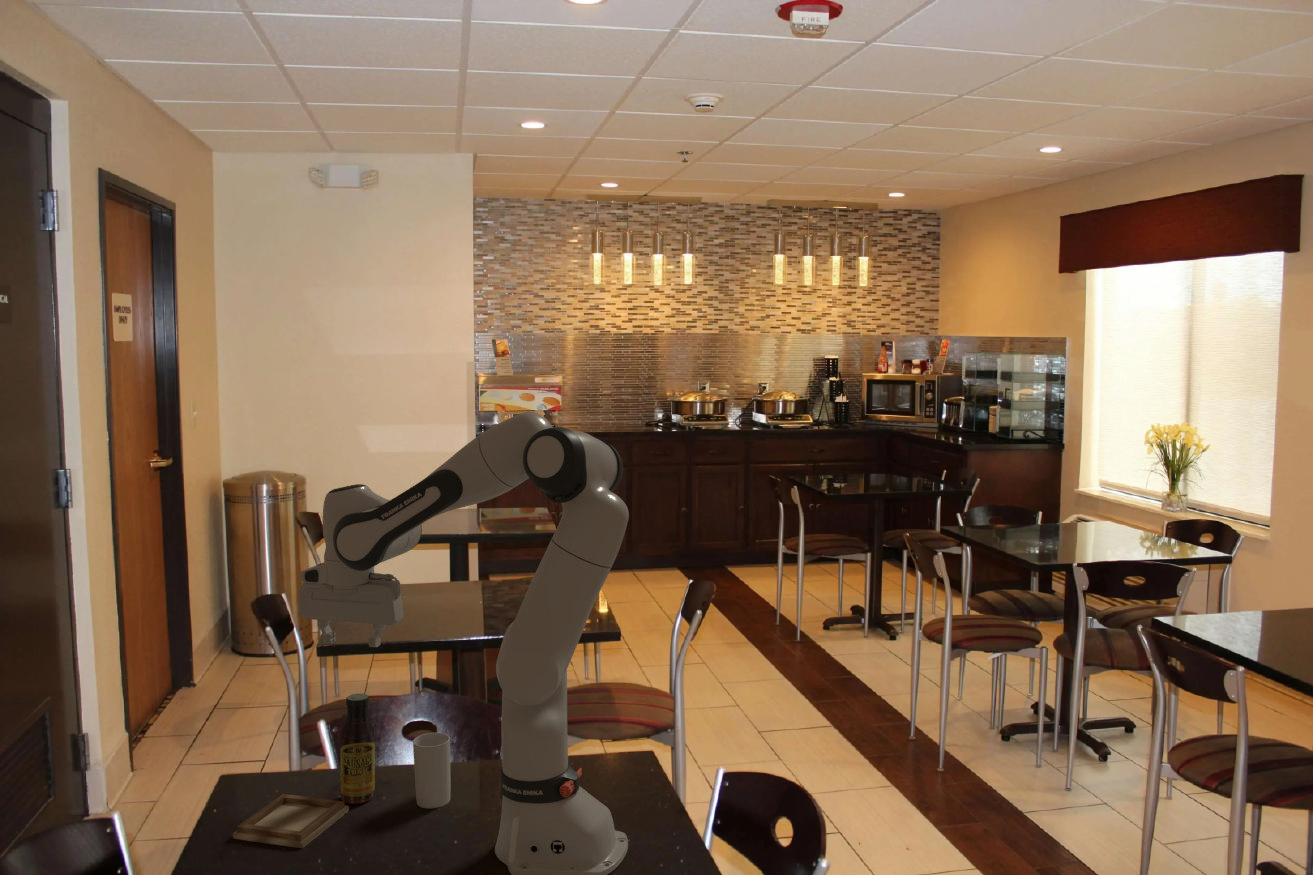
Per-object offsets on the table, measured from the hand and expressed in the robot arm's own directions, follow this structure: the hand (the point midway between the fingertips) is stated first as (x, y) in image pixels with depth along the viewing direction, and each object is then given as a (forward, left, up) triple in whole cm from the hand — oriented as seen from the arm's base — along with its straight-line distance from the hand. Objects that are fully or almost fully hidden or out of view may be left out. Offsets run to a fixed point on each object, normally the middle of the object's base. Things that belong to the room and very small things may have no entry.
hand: (352, 644), depth 185 cm
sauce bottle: (0, 0, -30) cm, 30 cm away
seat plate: (+6, +12, -30) cm, 33 cm away
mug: (-14, -4, -30) cm, 33 cm away
